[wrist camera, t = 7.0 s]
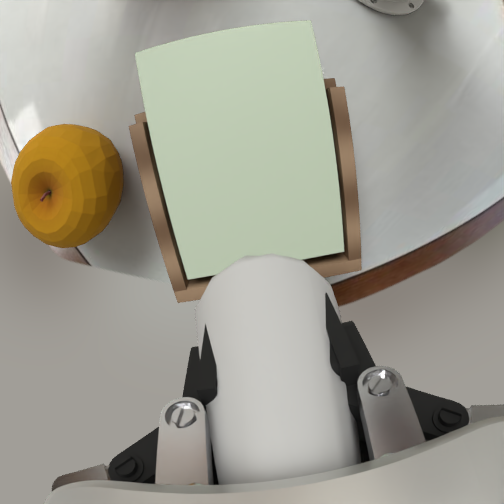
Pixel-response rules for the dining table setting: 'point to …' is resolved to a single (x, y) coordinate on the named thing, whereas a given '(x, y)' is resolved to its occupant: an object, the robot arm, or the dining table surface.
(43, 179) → the apple
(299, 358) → the salt shaker
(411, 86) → the dining table surface
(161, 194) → the box
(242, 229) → the trapdoor
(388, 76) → the dining table surface
